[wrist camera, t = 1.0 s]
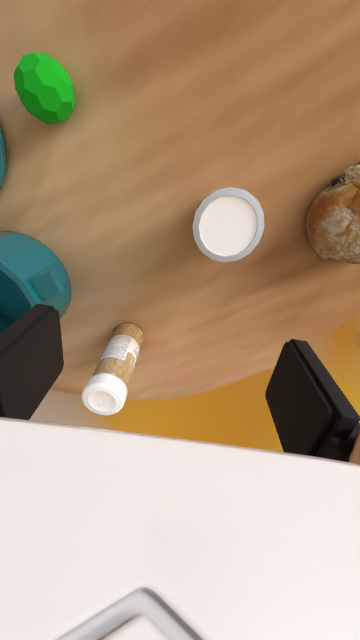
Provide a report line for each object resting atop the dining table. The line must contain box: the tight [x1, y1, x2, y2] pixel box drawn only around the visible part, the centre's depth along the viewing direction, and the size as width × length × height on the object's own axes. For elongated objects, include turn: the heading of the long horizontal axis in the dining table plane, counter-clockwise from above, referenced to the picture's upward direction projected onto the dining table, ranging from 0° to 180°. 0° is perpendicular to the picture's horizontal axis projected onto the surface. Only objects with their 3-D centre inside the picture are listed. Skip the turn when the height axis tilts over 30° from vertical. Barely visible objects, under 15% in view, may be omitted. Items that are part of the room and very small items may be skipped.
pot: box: [0, 231, 71, 334], centre depth 32 cm, size 14×19×8 cm
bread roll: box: [306, 162, 360, 264], centre depth 29 cm, size 10×10×8 cm
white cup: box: [192, 187, 264, 262], centre depth 28 cm, size 7×7×7 cm
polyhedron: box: [14, 53, 75, 124], centre depth 24 cm, size 5×5×5 cm
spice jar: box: [82, 323, 143, 415], centre depth 34 cm, size 5×5×13 cm
